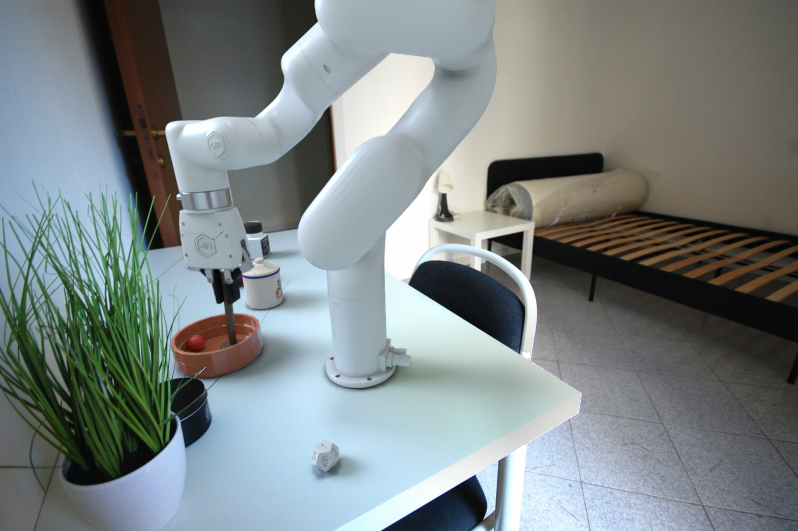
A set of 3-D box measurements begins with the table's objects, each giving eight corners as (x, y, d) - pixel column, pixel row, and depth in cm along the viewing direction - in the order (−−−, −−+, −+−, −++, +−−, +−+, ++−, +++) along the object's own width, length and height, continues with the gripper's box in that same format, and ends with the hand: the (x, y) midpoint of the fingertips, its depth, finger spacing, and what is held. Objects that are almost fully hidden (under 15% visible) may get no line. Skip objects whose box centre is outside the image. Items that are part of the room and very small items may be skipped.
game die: (323, 482, 45) (321, 463, 44) (305, 465, 47) (303, 447, 46) (345, 463, 47) (344, 445, 46) (327, 448, 50) (326, 431, 49)
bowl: (276, 336, 77) (273, 315, 76) (234, 382, 63) (229, 358, 62) (211, 331, 80) (207, 310, 78) (157, 374, 66) (150, 350, 64)
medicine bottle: (263, 259, 125) (258, 224, 121) (242, 259, 125) (236, 225, 121) (270, 252, 132) (266, 219, 128) (251, 253, 132) (245, 220, 128)
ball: (210, 336, 73) (196, 331, 73) (199, 339, 70) (186, 334, 70) (206, 350, 73) (193, 346, 73) (196, 354, 70) (182, 349, 70)
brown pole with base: (246, 342, 72) (238, 267, 69) (246, 352, 68) (237, 273, 65) (221, 346, 70) (212, 270, 67) (219, 356, 66) (209, 275, 63)
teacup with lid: (286, 305, 91) (280, 261, 87) (247, 313, 88) (239, 267, 84) (280, 288, 101) (274, 247, 97) (245, 294, 98) (237, 252, 94)
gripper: (148, 204, 59) (176, 308, 65) (237, 204, 56) (257, 312, 63) (182, 196, 66) (204, 291, 72) (262, 196, 63) (278, 294, 69)
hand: (228, 300), depth 67 cm, fingers closed on brown pole with base, 1 cm apart
